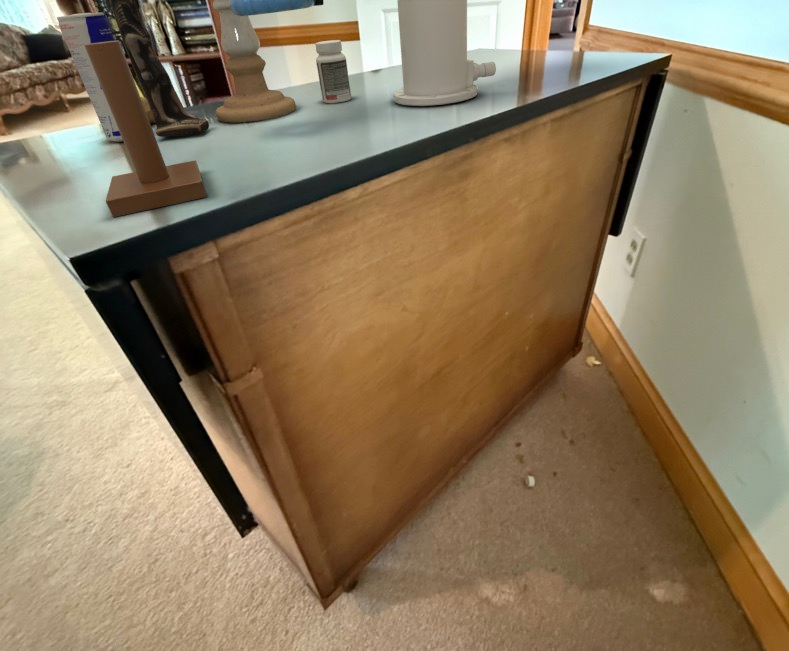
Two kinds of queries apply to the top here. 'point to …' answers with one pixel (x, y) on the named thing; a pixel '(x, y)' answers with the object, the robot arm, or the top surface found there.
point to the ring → (267, 6)
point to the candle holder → (246, 73)
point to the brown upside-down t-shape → (139, 142)
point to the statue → (153, 75)
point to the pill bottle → (332, 72)
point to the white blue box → (76, 36)
